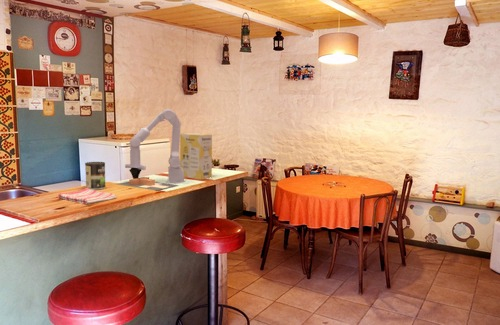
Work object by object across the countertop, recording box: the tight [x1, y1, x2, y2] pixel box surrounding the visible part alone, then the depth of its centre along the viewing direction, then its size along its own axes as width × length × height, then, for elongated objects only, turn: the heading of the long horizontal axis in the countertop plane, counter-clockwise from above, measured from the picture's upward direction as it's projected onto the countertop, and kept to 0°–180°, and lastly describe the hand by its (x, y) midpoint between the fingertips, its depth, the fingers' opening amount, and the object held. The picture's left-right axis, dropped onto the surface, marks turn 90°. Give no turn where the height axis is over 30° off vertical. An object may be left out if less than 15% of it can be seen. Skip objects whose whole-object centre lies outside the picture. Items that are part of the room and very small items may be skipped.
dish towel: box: [57, 187, 117, 205], centre depth 204 cm, size 17×23×4 cm
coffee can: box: [84, 161, 106, 191], centre depth 228 cm, size 10×10×14 cm
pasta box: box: [179, 132, 213, 180], centre depth 270 cm, size 18×10×28 cm, turn 53°
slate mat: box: [117, 181, 179, 192], centre depth 240 cm, size 18×31×1 cm, turn 60°
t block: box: [128, 176, 156, 186], centre depth 240 cm, size 12×12×3 cm
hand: (135, 180), depth 244 cm, fingers closed
